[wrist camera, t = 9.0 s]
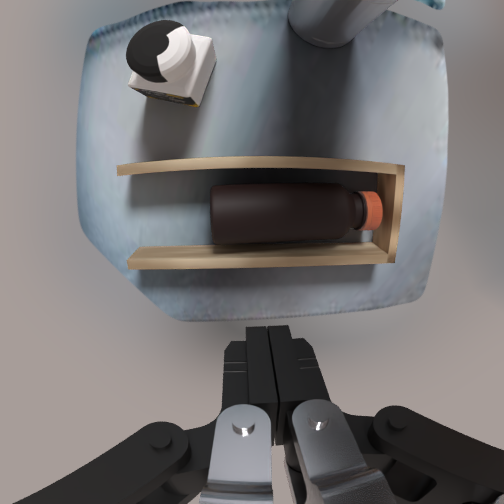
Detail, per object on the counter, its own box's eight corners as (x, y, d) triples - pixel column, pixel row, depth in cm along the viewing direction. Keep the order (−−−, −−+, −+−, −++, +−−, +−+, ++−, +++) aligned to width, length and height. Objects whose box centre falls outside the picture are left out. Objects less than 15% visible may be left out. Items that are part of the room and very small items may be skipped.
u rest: (132, 163, 33) (116, 165, 28) (385, 162, 34) (404, 165, 29) (140, 255, 37) (128, 269, 32) (378, 250, 38) (394, 262, 34)
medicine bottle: (146, 97, 30) (106, 76, 19) (165, 48, 28) (135, 10, 17) (199, 108, 31) (179, 86, 20) (217, 58, 29) (208, 17, 18)
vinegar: (208, 204, 27) (392, 201, 29) (210, 175, 33) (368, 175, 34) (213, 257, 32) (377, 248, 33) (214, 223, 37) (358, 218, 39)
